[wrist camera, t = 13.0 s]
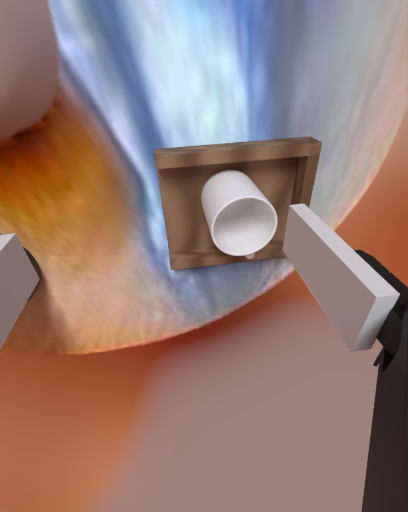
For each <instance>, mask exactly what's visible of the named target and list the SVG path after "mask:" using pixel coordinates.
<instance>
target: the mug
mask: <svg viewBox="0 0 408 512" xmlns="http://www.w3.org/2000/svg"><path fill="white" fill-rule="evenodd" d="M201 203H202V208H203V211H204V214H205V217H206V221H207V224H208V227H209V230H210V233H211V237H212V240H213V242H214V244H215V245H216V246H217V247H218V248H219V249H220V250H221V251H223V252H224V253H227V254H229V255H234V256H244V255H245V257H246V258H247V259H252V258H253V257H254V255H255V252H257V251H259V250H260V249H262V248H263V247H264V246H266V245H267V244H268V243H269V241H270V240H271V239H272V237H273V236H274V234H275V231H276V228H277V214H276V211H275V209H274V207H273V206H272V205H271V204H270V202H269V201H268V200H267V199H266V197H265V196H264V195H263V194H262V192H261V191H260V190H259V189H258V188H257V186H256V185H255V184H254V183H253V181H252V180H251V179H250V178H249V177H248V176H247V175H245V174H244V173H242V172H240V171H236V170H224V171H221V172H218V173H216V174H215V175H213V176H212V177H211V178H210V179H209V180H208V181H207V182H206V184H205V185H204V187H203V190H202V194H201Z"/></svg>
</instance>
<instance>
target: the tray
mask: <svg viewBox="0 0 408 512" xmlns="http://www.w3.org/2000/svg"><path fill="white" fill-rule="evenodd" d="M321 146H322V142H320V141H318V140H316V139H314V138H312V137H299V138H287V139H275V140H262V141H250V142H238V143H225V144H213V145H201V146H188V147H176V148H164V149H154V160H155V166H156V169H157V172H158V179H159V186H160V193H161V199H162V206H163V213H164V220H165V227H166V233H167V240H168V247H169V256H170V267H171V270H177V269H185V268H194V267H202V266H210V265H218V264H227V263H235V262H243V261H251V260H260V259H268V258H276V257H284V256H286V255H285V253H284V252H283V243H284V237H285V230H286V224H287V218H288V211H289V205H295V204H305V205H306V206H307V207H308V208H309V204H310V200H311V195H312V190H313V185H314V180H315V175H316V170H317V165H318V160H319V155H320V150H321ZM224 170H236V171H240V172H242V173H244V174H245V175H247V176H248V177H249V178H250V179H251V180H252V181H253V183H254V184H255V185H256V186H257V188H258V189H259V190H260V191H261V192H262V194H263V195H264V196H265V197H266V199H267V200H268V201H269V202H270V204H271V205H272V206H273V207H274V209H275V211H276V214H277V228H276V231H275V234H274V236H273V237H272V239H271V240H270V241H269V243H268V244H267V245H266V246H264V247H263V248H262V249H260V250H259V251H257V252H255V255H254V257H253V258H252V259H247V258H246V257H245V255H244V256H234V255H229V254H227V253H224V252H223V251H221V250H220V249H219V248H218V247H217V246H216V245H215V244H214V242H213V240H212V237H211V233H210V230H209V227H208V224H207V221H206V217H205V214H204V211H203V208H202V203H201V194H202V190H203V187H204V185H205V184H206V182H207V181H208V180H209V179H210V178H211V177H212V176H213V175H215V174H216V173H218V172H221V171H224Z"/></svg>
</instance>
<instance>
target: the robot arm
mask: <svg viewBox="0 0 408 512" xmlns="http://www.w3.org/2000/svg"><path fill="white" fill-rule="evenodd" d="M283 252H284V253H285V255H286V256H287V258H288V259H289V261H290V262H291V264H292V265H293V267H294V268H295V269H296V271H297V272H298V274H299V275H300V277H301V278H302V280H303V281H304V283H305V284H306V286H307V287H308V289H309V290H310V292H311V293H312V295H313V296H314V297H315V299H316V300H317V302H318V303H319V305H320V306H321V308H322V309H323V311H324V312H325V314H326V315H327V317H328V318H329V320H330V321H331V323H332V324H333V326H334V327H335V329H336V330H337V332H338V333H339V335H340V336H341V338H342V339H343V341H344V342H345V344H346V345H347V346H348V348H349V349H350V351H351V352H354V351H360V350H367V349H371V348H372V346H373V344H374V342H375V340H376V338H377V339H378V340H379V342H380V343H381V344H382V345H383V348H382V350H381V352H380V354H379V355H378V357H377V359H376V360H375V362H374V366H377V365H378V363H379V369H378V377H377V385H376V394H375V402H374V411H373V419H372V428H371V437H370V445H369V453H368V462H367V470H366V479H365V487H364V496H363V505H362V512H408V287H407V286H405V285H404V284H403V283H402V282H401V281H400V280H399V279H397V278H396V277H395V276H394V275H393V274H392V273H389V271H388V270H387V269H386V268H385V267H384V266H382V265H381V263H379V262H378V261H377V260H376V259H375V258H374V257H373V256H371V255H369V254H367V253H365V252H363V251H361V250H353V249H352V248H351V247H349V246H348V245H347V244H346V243H345V242H344V241H343V240H342V239H341V238H340V237H338V235H337V234H336V233H335V232H334V231H333V230H332V229H330V228H329V227H328V226H327V225H326V224H325V223H324V222H323V221H322V220H321V219H320V218H319V217H318V216H317V215H316V214H315V213H313V212H312V211H311V210H310V209H309V208H308V207H307V206H306V205H305V204H295V205H289V211H288V218H287V224H286V230H285V237H284V243H283ZM39 283H40V270H39V267H38V265H37V263H36V261H35V260H34V258H33V257H32V256H31V254H30V253H29V252H28V251H27V250H26V249H24V248H23V247H22V245H21V243H20V241H19V239H18V237H17V235H16V234H6V235H1V234H0V350H1V348H2V346H3V344H4V342H5V341H6V339H7V337H8V335H9V333H10V332H11V330H12V328H13V326H14V324H15V323H16V321H17V319H18V317H19V315H20V314H21V312H22V310H23V308H24V306H25V305H26V303H27V302H28V301H29V300H30V299H31V298H32V296H33V295H34V293H35V291H36V289H37V288H38V286H39Z"/></svg>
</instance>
